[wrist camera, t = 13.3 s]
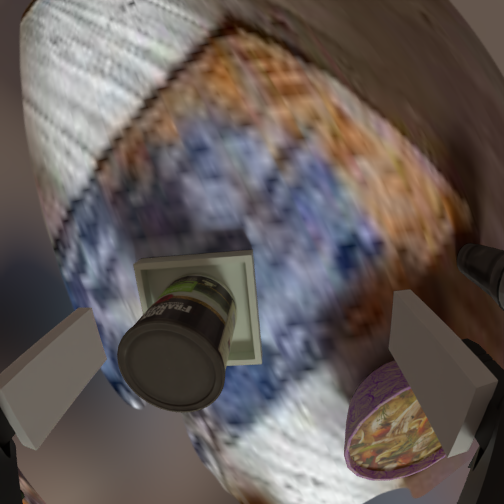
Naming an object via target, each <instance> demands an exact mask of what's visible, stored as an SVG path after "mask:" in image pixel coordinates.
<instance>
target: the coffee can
mask: <svg viewBox="0 0 504 504" xmlns="http://www.w3.org/2000/svg"><path fill="white" fill-rule="evenodd" d="M237 317H238V310H237V304H236V301H235V298H234V296H233V295H232V293H231V292H230V290H229V289H228V288H227V287H226V286H225V285H224V284H223V283H221V282H220V281H219V280H217V279H215V278H213V277H211V276H208V275H204V274H195V273H194V274H186V275H182V276H180V277H178V278H176V279H175V280H173V281H172V282H171V283H170V284H169V285H168V286H167V287H166V289H165V290H164V292H163V293H162V294H161V295H160V296H159V297H158V299H157V300H156V301H155V302H154V303H153V304H152V305H151V307H150V308H149V309H148V310H147V311H146V312H145V313H144V315H143V316H142V317H141V318H140V319H139V320H138V321H137V323H136V324H135V325H134V326H133V327H132V328H130V329H129V330H128V331H127V332H126V333H125V335H124V336H123V338H122V339H121V341H120V344H119V347H118V353H117V357H118V365H119V369H120V371H121V374H122V376H123V378H124V380H125V381H126V383H127V384H128V385H129V387H130V388H131V389H132V390H133V391H134V392H135V393H136V394H137V395H138V396H139V397H141V398H142V399H143V400H145V401H146V402H148V403H150V404H152V405H154V406H156V407H158V408H161V409H164V410H168V411H173V412H193V411H198V410H201V409H203V408H205V407H207V406H209V405H210V404H212V403H213V402H214V401H215V400H216V399H217V398H218V397H219V395H220V393H221V391H222V389H223V386H224V381H225V369H226V365H227V361H228V356H229V352H230V347H231V342H232V338H233V333H234V328H235V325H236V322H237Z"/></svg>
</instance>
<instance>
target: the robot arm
mask: <svg viewBox="0 0 504 504" xmlns="http://www.w3.org/2000/svg"><path fill="white" fill-rule="evenodd" d="M388 349H389V351H390V352H391V354H392V356H393V357H394V359H395V361H396V363H397V364H398V366H399V368H400V370H401V371H402V373H403V375H404V377H405V378H406V380H407V382H408V384H409V386H410V387H411V389H412V391H413V393H414V395H415V396H416V398H417V400H418V402H419V404H420V406H421V407H422V409H423V411H424V413H425V415H426V417H427V419H428V421H429V423H430V424H431V426H432V428H433V430H434V432H435V434H436V436H437V438H438V440H439V442H440V444H441V446H442V448H443V450H444V452H445V454H446V456H447V458H448V457H451V456H454V455H457V454H460V453H463V452H466V451H468V450H469V448H470V446H471V444H472V442H473V440H474V438H476V440H477V442H478V443H479V445H480V446H479V448H478V450H477V452H476V453H475V455H474V457H473V459H472V461H471V462H470V464H469V466H468V468H471V469H470V472H469V474H468V477H467V480H466V483H465V485H464V488H463V490H462V493H461V495H460V497H459V500H458V502H457V504H504V370H503V369H502V368H501V367H500V366H499V365H498V364H497V363H496V362H495V361H494V360H492V357H491V356H490V355H489V354H486V351H485V350H484V349H483V348H482V347H481V346H480V345H479V344H477V343H475V342H473V341H471V340H469V339H463V340H461V339H460V338H459V337H458V336H457V335H456V334H455V333H454V332H453V331H452V330H451V329H450V328H449V327H448V326H447V325H446V324H445V323H444V322H443V321H442V320H441V319H440V318H439V317H438V316H437V315H436V314H435V313H434V312H433V311H432V310H431V309H430V308H429V307H428V306H427V305H426V304H425V303H424V302H423V301H422V300H421V299H420V298H419V297H418V296H417V295H416V294H414V293H413V292H412V291H411V290H410V289H409V290H400V291H394V295H393V308H392V320H391V330H390V339H389V347H388ZM106 360H107V358H106V355H105V352H104V349H103V345H102V342H101V339H100V336H99V332H98V329H97V326H96V322H95V318H94V315H93V311H92V308H78V309H77V310H75V311H74V312H73V313H72V314H70V315H69V316H68V317H67V318H66V319H64V320H63V321H62V322H61V323H59V324H58V325H57V326H56V327H55V328H53V329H52V330H51V331H50V332H49V333H47V334H46V335H45V336H44V337H43V338H41V339H40V340H39V341H38V342H36V343H35V344H34V345H33V346H32V347H31V348H29V349H28V350H27V351H26V352H25V353H24V354H22V355H21V356H20V357H19V358H18V359H17V360H15V361H14V362H13V363H12V364H11V365H10V366H9V367H8V368H7V369H5V370H4V371H3V372H2V373H1V374H0V504H23V503H22V497H21V490H20V483H19V476H18V467H17V457H16V446H15V443H14V441H13V440H12V437H13V436H14V434H16V435H17V437H18V438H19V440H20V441H21V443H22V444H23V445H24V446H26V447H29V448H31V449H34V450H38V448H39V447H40V445H41V444H42V443H43V441H44V440H45V439H46V437H47V436H48V435H49V433H50V432H51V431H52V429H53V428H54V427H55V425H56V424H57V422H58V421H59V420H60V418H61V417H62V416H63V415H64V413H65V412H66V411H67V409H68V408H69V407H70V405H71V404H72V403H73V401H74V400H75V399H76V398H77V396H78V395H79V394H80V392H81V391H82V390H83V388H84V387H85V386H86V385H87V384H88V382H89V381H90V380H91V378H92V377H93V376H94V374H95V373H96V372H97V371H98V370H99V368H100V367H101V366H102V365H103V363H104V362H105V361H106Z"/></svg>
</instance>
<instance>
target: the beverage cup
mask: <svg viewBox="0 0 504 504" xmlns="http://www.w3.org/2000/svg"><path fill="white" fill-rule="evenodd" d="M457 266H458V269H459V270H460V271H461V272H462V273H463V274H464V275H465V276H466V277H467V278H469V279H470V280H471V281H473V282H474V283H475V284H476V285H478V286H479V287H480V288H481V289H483V290H484V291H485V292H486V293H487V294H489V295H490V296H491V297H492V298H493V299H494V300H495V302H496V303H497V304H498V305H499V307H500V308H501V309H502V310H503V311H504V250H500V249H496V248H491V247H487V246H483V245H479V244H472V243H470V244H466V245H464V246H463V247H462V248H461V250H460V251H459V253H458V256H457Z"/></svg>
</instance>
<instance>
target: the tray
mask: <svg viewBox="0 0 504 504" xmlns="http://www.w3.org/2000/svg"><path fill="white" fill-rule="evenodd" d="M133 265H134V270H135V276H136V281H137V286H138V291H139V296H140V301H141V306H142V311H143V315H144V313H145V312H146V311H147V310H148V309H149V308H150V307H151V305H152V304H153V303H154V302H155V301H156V300H157V299H158V297H159V296H160V295H161V294H162V293H163V292H164V290H165V289H166V287H167V286H168V285H169V284H170V283H171V282H172V281H173V280H175V279H176V278H178V277H180V276H182V275H186V274H194V273H195V274H204V275H208V276H211V277H213V278H215V279H217V280H219V281H220V282H221V283H223V284H224V285H225V286H226V287H227V288H228V289H229V290H230V292H231V293H232V295H233V296H234V298H235V301H236V304H237V310H238V317H237V322H236V325H235V328H234V333H233V338H232V342H231V347H230V352H229V356H228V361H227V365H226V366H230V365H253V364H262V346H261V335H260V324H259V313H258V302H257V291H256V280H255V269H254V258H253V250H241V251H228V252H216V253H203V254H191V255H178V256H166V257H153V258H141V259H140V260H139V261H137V262H136V263H134V264H133Z"/></svg>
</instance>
